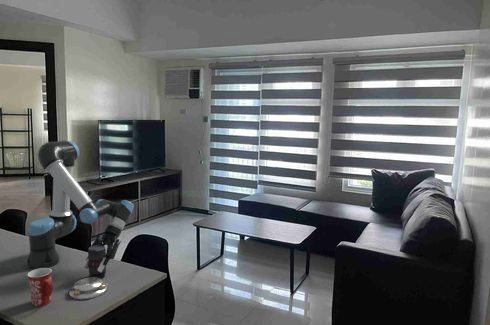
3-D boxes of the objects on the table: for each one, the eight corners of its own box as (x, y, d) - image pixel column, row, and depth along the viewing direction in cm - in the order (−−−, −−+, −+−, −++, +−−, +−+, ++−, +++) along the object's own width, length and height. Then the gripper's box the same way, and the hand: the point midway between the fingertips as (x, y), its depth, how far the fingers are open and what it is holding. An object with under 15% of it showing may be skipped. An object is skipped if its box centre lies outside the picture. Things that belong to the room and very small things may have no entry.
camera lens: (100, 281, 173) (99, 251, 171) (85, 279, 174) (84, 250, 172) (109, 274, 181) (109, 245, 178) (95, 272, 182) (94, 244, 180)
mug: (25, 303, 152) (23, 273, 150) (46, 294, 159) (45, 265, 157) (39, 313, 145) (38, 281, 143) (61, 303, 152) (60, 273, 150)
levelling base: (78, 282, 171) (78, 275, 171) (112, 282, 172) (112, 275, 171) (62, 299, 155) (62, 291, 155) (100, 299, 156) (99, 292, 156)
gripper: (134, 234, 185) (113, 276, 173) (103, 228, 193) (80, 268, 180) (127, 227, 180) (105, 270, 167) (95, 221, 187) (71, 262, 175)
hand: (92, 269), depth 174 cm, fingers closed on camera lens, 8 cm apart
